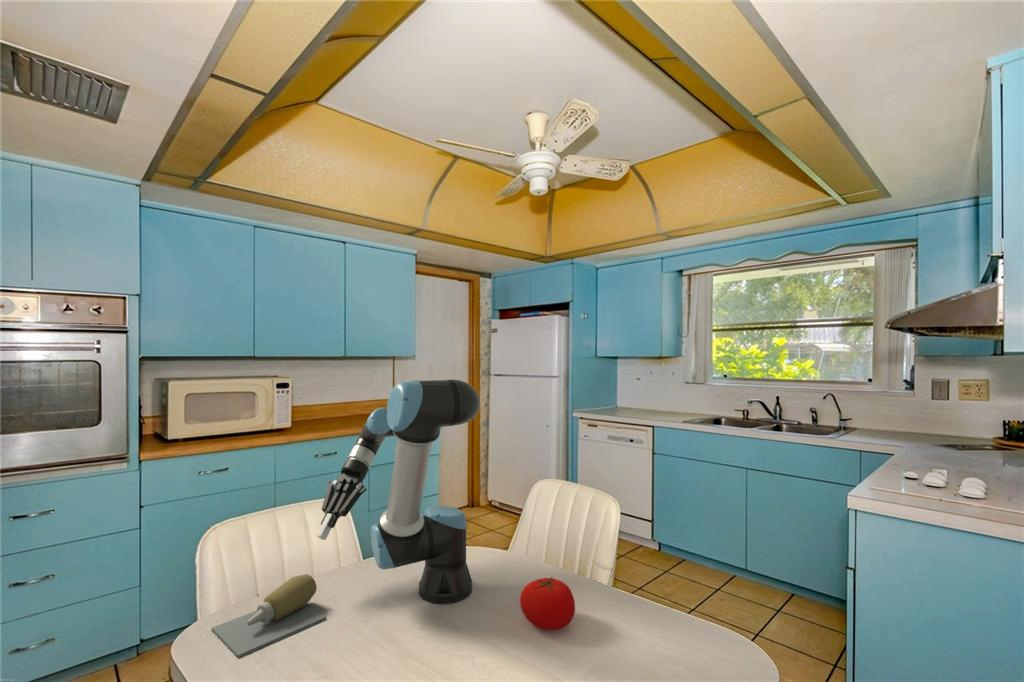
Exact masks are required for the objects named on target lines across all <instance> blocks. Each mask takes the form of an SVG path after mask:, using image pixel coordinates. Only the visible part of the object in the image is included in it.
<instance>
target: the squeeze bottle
mask: <svg viewBox="0 0 1024 682" xmlns="http://www.w3.org/2000/svg"><path fill="white" fill-rule="evenodd" d="M317 589H318V588H317V584H316V580H315V579H314V577H312V576H311V575H310V574H308V573H305V574H300V575H297V576H296V575H295V576H292V577H290V578H289V579H288V580H286V581H285V582H284V583H282V584H281V585H280V586H279V587H277V588H275V589H274V590H272V591H271V593H269V594H268V595H266V596H265V597H264V599H263V602H262V603H261V604H259V605H258V606H257V608H256V611H257V613H256V614H255V615H254V616H253V617H252V618H251V619H250V620H248V622H247V623H248V625H249V626H250V625H253V624H255V623H258V622H260V621H261V622H262V623H268V622H269V621H271V620H273V621H278V620H279V619H281V618H283V617H285V616H287V615H289V614H290V613H292V612H294V611H296V610H298V609H300V608H302V607H303V606H305V605H306V604H308V603H309V602H310V600H311V599H312V598H313V597H314V596H315V594H316V593H317Z"/></svg>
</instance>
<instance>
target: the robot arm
mask: <svg viewBox="0 0 1024 682" xmlns="http://www.w3.org/2000/svg"><path fill="white" fill-rule="evenodd" d="M480 408H481V399H480V396H479V393H478V392H477V389H475V387H473V386H472V385H471V384H470V383H468V382H466V381H463V380H460V379H442V380H441V379H440V380H439V379H437V380H436V379H435V380H416V379H415V380H409V381H401V382H399V383H397V384H396V385H394V386H393V388H392V389H391V391H390V393H389V396H388V400H387V404H386V408H385V407H378V408H376V409H374V410H373V411H372V412H371V413H370V414H369V416H368V418H367V420H366V422H365V424H364V425H363V427H362V430H361V431H360V433H359V436H358V437H357V438H356V441H355V443H354V445H353V447H352V449H351V451H350V452H349V453H348V456H347V459H346V460H345V462H344V464H343V465H342V467H341V469H340V470H341V472H340V474H339V476H337V478H336V479H335V480H333V481H332V480H328V481H327V489H326V492H325V496H324V500H323V503H322V506H321V511H322V512H323V513H324V516H323V517H322V519H321V522H320V527H319V529H318V531H317V533H316V537H318V539H320V540H321V541H322V540H323V541H326V539H328V536H329V534H330V532H331V530H332V529H333V528H335V526H336V525H337V522H338V519H339V518H341V517H347V515H348V514H349V512H350V511H351V510H352V509H353V507H354V505H355V504H356V503H357V501H358V500H359V498H360V497H361V496H362V495H363V494H364V493H365V492H366V491H367V487H366V486H365V484H364V482H363V481H365V479H366V477H367V474H368V473H369V469H370V468H371V465H372V464H373V461H374V460H375V457H376V456H377V455H376V454H377V453H378V451H379V449H380V448H381V445H382V444H383V442H384V440H385V439H386V438H389V437H395V438H396V439H397V440H396V447H395V453H394V454H395V456H394V460H393V469H392V476H391V483H390V490H389V497H388V503H387V504H388V505H387V508H386V510H384V511H383V513H382V514H381V515H380V518H379V523H375V524H372V526H371V528H370V543H371V548H372V553H373V556H374V557H373V558H374V561H375V563H376V565H377V567H378V568H379V569H381V570H390V569H396V568H400V567H404V566H408V565H411V564H416V563H420V562H424V568H423V571H422V575H421V579H420V581H419V584H418V594H419V597H420V599H422V600H424V601H425V602H427V603H431V604H437V605H448V604H453V603H457V602H460V601H463V600H465V599H467V598H468V597H469V596H470V595H471V594H472V592H473V580H472V577H471V574H470V570H469V567H468V564H467V529H468V526H467V519H466V518H467V516H466V513H464V512H463V510H461V509H459V508H456V507H452V506H445V505H434V506H429V507H427V508H426V509H425V510H424V515H423V513H421V509H422V502H423V497H424V492H425V485H426V479H427V474H428V470H429V469H428V467H429V462H430V456H431V451H432V444H433V443H434V442H436V441H437V440H438V439H439V437H440V434H441V428H442V427H443V428H445V427H452V426H459V425H463V424H466V423H469V422H471V421H472V420H473V419H475V418H476V416H477V415H478V413H479V410H480Z"/></svg>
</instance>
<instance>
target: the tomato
mask: <svg viewBox="0 0 1024 682" xmlns="http://www.w3.org/2000/svg"><path fill="white" fill-rule="evenodd" d="M519 602H520V603H519V604H520V609H521V612H522V613H523V615H524V617H525V618H526V620H527V621H528V622H529V623H530V624H532V625H533V626H535V627H536V628H538V629H542V630H544V631H557V630H558V631H559V630H562V629H564V628H565V627H567V626H568V625H569V624H570V623H571V622H572V620H573V618H574V616H575V613H576V602H575V598H574V595H573V593H572V591H571V588H570V587H569V586H568V585H567V584H566V583H565V582H564V581H562V580H559V579H556V578H553V576H551V577H544V578H539V579H538V578H535V579H534V580H533V581H530V582H529V583H528V584H527V585H525V586H524V588H523V589H522V591H521V594H520V597H519Z"/></svg>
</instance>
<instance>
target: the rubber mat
mask: <svg viewBox="0 0 1024 682" xmlns="http://www.w3.org/2000/svg"><path fill="white" fill-rule="evenodd" d="M256 613H257V610H254V611H252V612H249V613H247V614H244V615H241V616H239V617H236V618H233V619H231V620H228V621H227V622H226V621H225V622H223V623H221V624H218V625H216V626H212V627H211V631H212V633H213V634H214V635H215V634H216V635H217V636H216V635H215V636H216V637H217V638H218V639H219V640H220V641H221V642H222V643H223V644H224V645H225V646H226V647H227V649H229V650H230V652H231V653H232V654H233V655H234V656H235V657H236V658H237V659H238V658H242V657H244V656H245V655H248V654H249V653H252V652H255V651H257V650H259V649H261V648H264V647H266V646H268V645H271V644H273V643H275V642H277V640H278V641H280V640H282V639H284V638H286V637H288V635H289V636H290V635H293V634H295V633H298V632H299V631H302V630H305V629H307V628H310V627H312V626H314V625H316V624H317V622H318V623H320V621H321V622H323V621H325V620H327V616H325V615H324V614H322V612H319V611H318V610H317V609H315V608H314V607H313V606H311V605H309V604H308V603H307V604H306V605H305V606H303V607H302V608H300V609H298V610H296V611H294V612H292V613H290V614H289V615H287V616H285V617H283V618H281V619H279V620H278V621H273V620H271V621H269V622H268V623H262V622H261V621H260V622H258V623H255V624H253V625H250V626H249V625H248V623H247V622H248V620H250V619H251V618H252V617H253V616H254V615H255V614H256ZM324 619H325V620H324ZM279 639H280V640H279Z"/></svg>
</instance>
